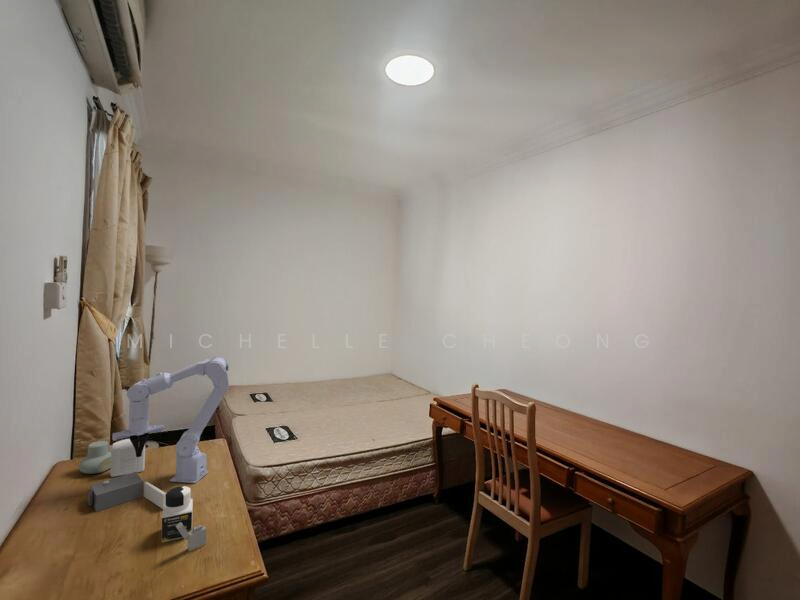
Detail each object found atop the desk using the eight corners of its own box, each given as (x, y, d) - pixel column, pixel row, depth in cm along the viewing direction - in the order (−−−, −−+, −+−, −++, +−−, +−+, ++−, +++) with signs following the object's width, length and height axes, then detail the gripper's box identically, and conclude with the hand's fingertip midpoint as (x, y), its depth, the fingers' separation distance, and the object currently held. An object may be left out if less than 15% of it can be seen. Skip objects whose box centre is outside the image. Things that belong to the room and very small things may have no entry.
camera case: (135, 486, 129) (135, 470, 129) (142, 496, 123) (143, 479, 123) (86, 501, 119) (86, 483, 119) (91, 513, 113) (92, 494, 113)
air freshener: (102, 462, 146) (102, 436, 145) (120, 465, 144) (121, 439, 144) (73, 476, 135) (73, 448, 135) (92, 478, 133) (92, 450, 133)
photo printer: (145, 467, 143) (145, 434, 143) (144, 471, 139) (145, 438, 139) (110, 473, 137) (111, 439, 137) (109, 478, 134) (110, 444, 133)
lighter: (203, 541, 102) (204, 512, 102) (206, 544, 101) (207, 514, 101) (174, 554, 97) (175, 523, 97) (177, 557, 96) (177, 526, 96)
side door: (143, 496, 123) (143, 482, 123) (149, 493, 124) (149, 479, 124) (163, 509, 116) (163, 494, 116) (169, 506, 117) (169, 492, 117)
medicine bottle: (161, 543, 101) (162, 499, 101) (163, 528, 107) (164, 486, 107) (191, 536, 104) (192, 493, 104) (192, 521, 111) (193, 481, 110)
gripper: (113, 424, 123) (113, 465, 124) (165, 416, 133) (164, 454, 133) (112, 418, 129) (111, 458, 129) (162, 411, 138) (161, 447, 138)
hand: (138, 455), depth 131 cm, fingers closed
